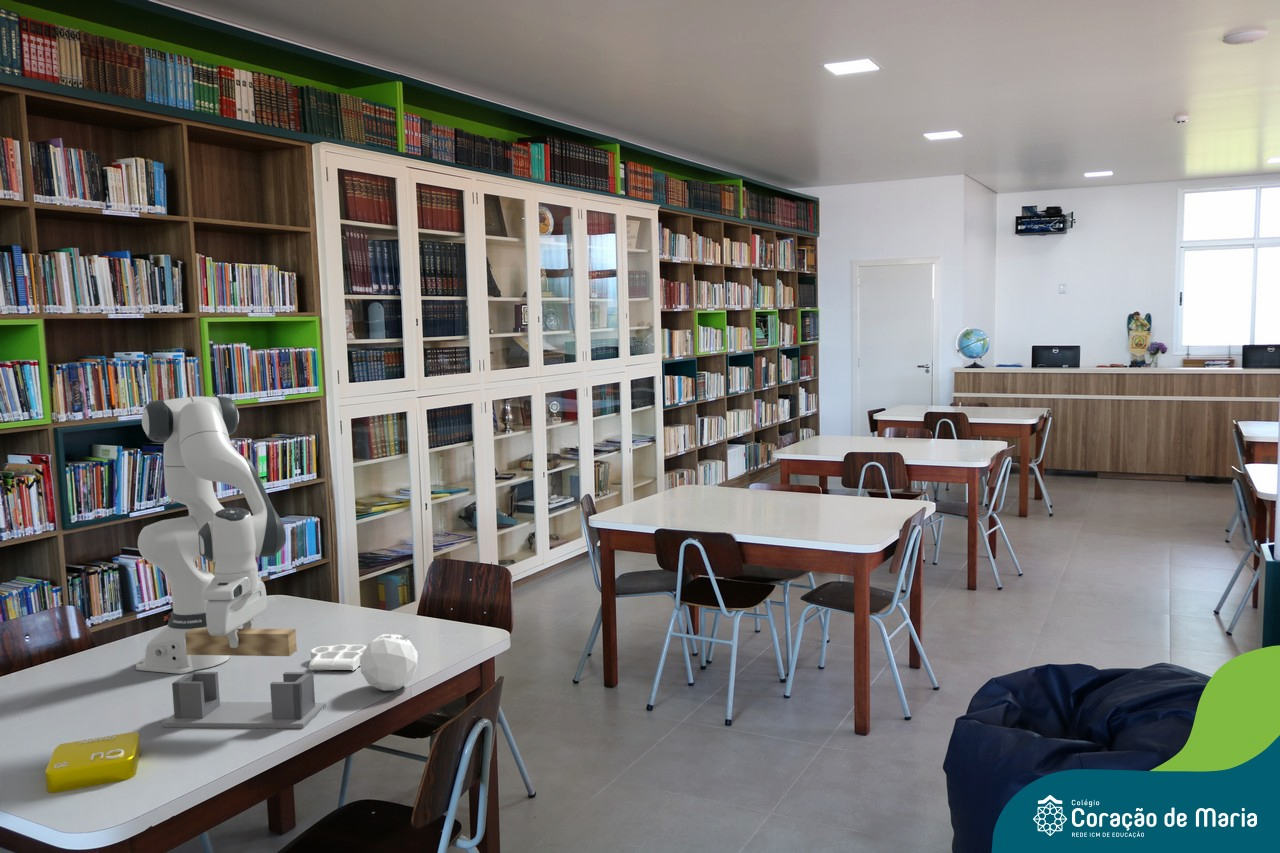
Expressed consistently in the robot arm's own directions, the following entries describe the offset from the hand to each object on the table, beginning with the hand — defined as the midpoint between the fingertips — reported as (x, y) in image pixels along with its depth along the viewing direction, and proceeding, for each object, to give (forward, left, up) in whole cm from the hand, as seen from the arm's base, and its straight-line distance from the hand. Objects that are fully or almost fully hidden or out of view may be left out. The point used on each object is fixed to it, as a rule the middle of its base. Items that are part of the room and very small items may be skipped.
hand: (240, 643), depth 212 cm
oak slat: (0, 0, -2) cm, 2 cm away
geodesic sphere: (+27, +18, -17) cm, 37 cm away
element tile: (-17, -27, -17) cm, 36 cm away
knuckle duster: (+8, +36, -18) cm, 40 cm away
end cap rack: (0, 0, -17) cm, 17 cm away
